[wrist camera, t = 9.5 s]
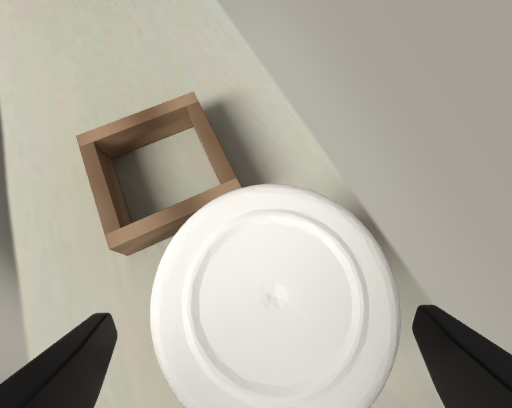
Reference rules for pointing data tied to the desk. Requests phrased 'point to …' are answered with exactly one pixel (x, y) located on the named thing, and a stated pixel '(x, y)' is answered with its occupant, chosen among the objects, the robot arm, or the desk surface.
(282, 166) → the desk surface
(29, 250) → the desk surface
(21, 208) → the desk surface
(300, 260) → the sprinkles bottle
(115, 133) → the collar
